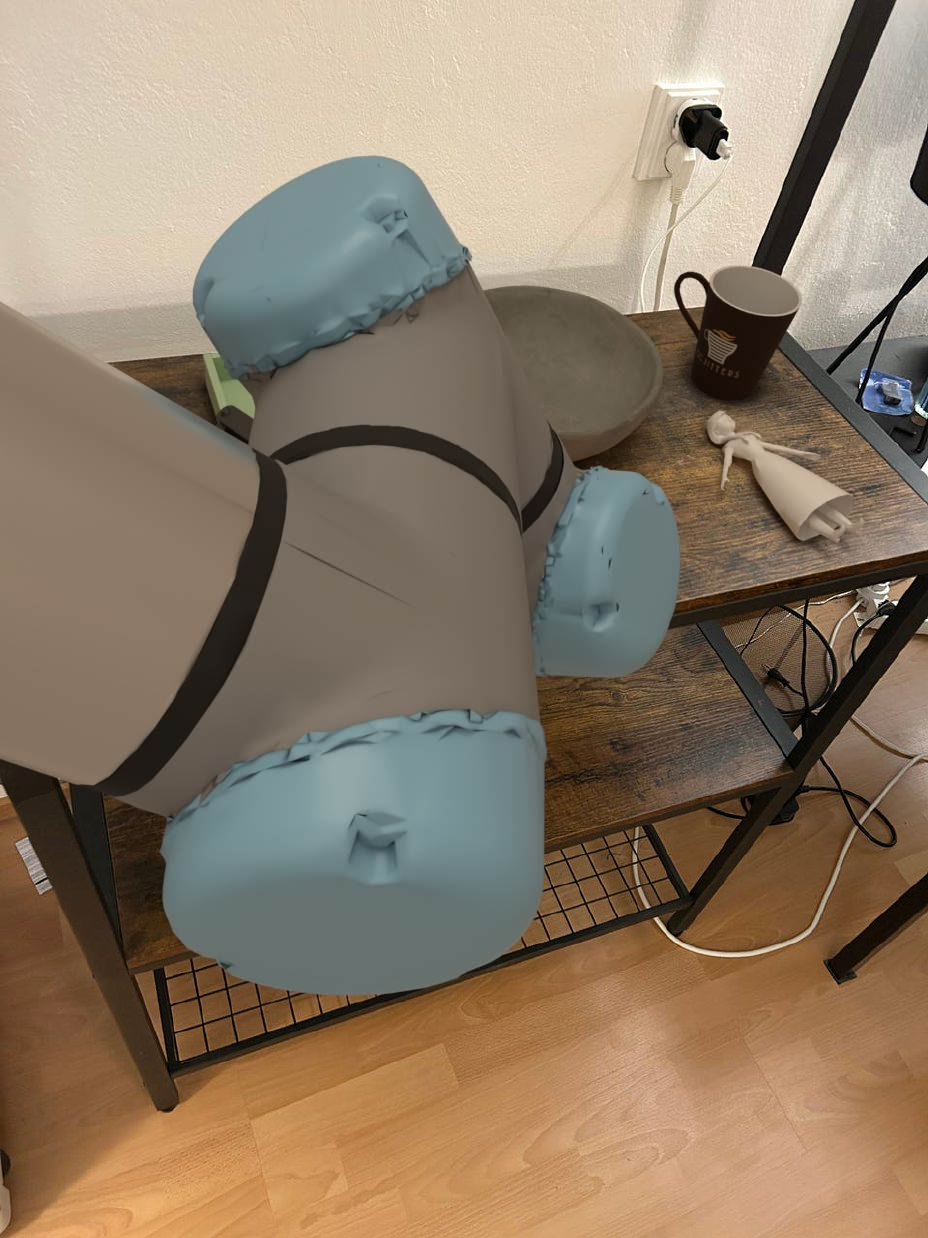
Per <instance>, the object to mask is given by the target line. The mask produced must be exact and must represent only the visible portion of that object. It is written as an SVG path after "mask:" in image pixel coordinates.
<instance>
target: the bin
mask: <svg viewBox="0 0 928 1238" xmlns="http://www.w3.org/2000/svg"><path fill="white" fill-rule="evenodd" d="M202 359H203V368H204V369H203V370H204V378H205V386H206V391H207V393H208V396H209V399H210V402H211V405H212V410H213V412H214V416H216V415H217V413H218V412H219V411H220V410H221V409H222V408H223V407H226V406H229V405H233V406H235V407H237V408H238V409H240V410H241V411H243V412H244V413H246V414H247V415H249V416H250V417H252V418H253V419H254V414H255V405H254V401H253V398H252V396H251V394H250V393H249V392H248V391H247V390H246V389H245V387H244V386H243V385H242V384H241V383H240V382H239V380H237V379H235V378H234V379H232V378H231V376H230V375H229V374H228V370H227V369H225V368H224V361H223V359H222V358H221V356H220V355H219V353H218V352H213V353H211V352H210V353H203V354H202ZM215 419H216V421H217V423H219V421H218V419H217V418H216V417H215Z"/></svg>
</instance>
